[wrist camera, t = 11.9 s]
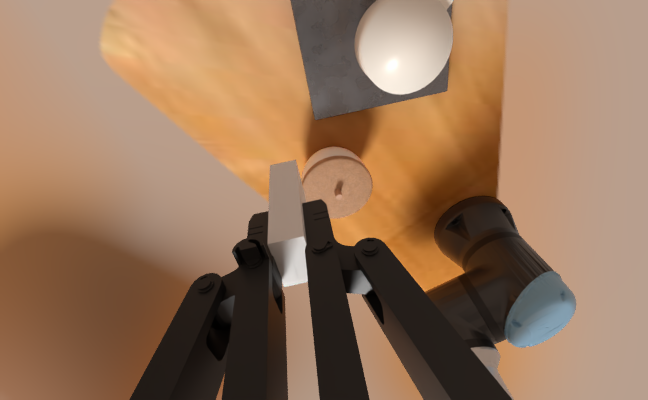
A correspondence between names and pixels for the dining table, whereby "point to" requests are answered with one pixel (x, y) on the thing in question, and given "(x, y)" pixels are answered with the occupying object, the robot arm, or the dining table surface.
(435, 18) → the coupling lever handle
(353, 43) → the base
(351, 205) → the lidded jar
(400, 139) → the dining table surface
